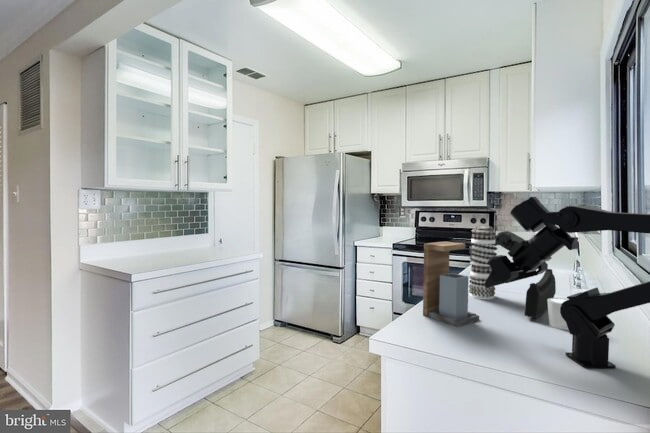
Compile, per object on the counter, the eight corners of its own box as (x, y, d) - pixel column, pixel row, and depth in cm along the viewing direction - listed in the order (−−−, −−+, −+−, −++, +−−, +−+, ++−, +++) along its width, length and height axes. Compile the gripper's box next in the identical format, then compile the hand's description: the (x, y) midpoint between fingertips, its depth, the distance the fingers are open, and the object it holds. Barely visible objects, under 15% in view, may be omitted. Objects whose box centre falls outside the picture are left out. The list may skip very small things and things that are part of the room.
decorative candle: (496, 301, 124) (498, 227, 122) (467, 297, 128) (468, 226, 126) (496, 294, 132) (498, 226, 131) (469, 291, 136) (470, 225, 135)
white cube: (562, 331, 95) (563, 305, 95) (540, 323, 102) (541, 298, 102) (582, 329, 97) (583, 303, 97) (559, 320, 104) (560, 296, 104)
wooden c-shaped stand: (479, 319, 104) (480, 245, 103) (457, 326, 99) (459, 248, 98) (444, 309, 114) (445, 241, 113) (422, 314, 109) (424, 243, 108)
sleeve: (467, 319, 105) (468, 276, 104) (455, 322, 102) (456, 278, 101) (451, 314, 110) (451, 273, 109) (439, 317, 106) (439, 275, 106)
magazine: (536, 292, 100) (555, 250, 121) (523, 290, 102) (544, 249, 124) (538, 345, 105) (556, 295, 126) (525, 342, 107) (545, 294, 128)
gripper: (536, 219, 95) (495, 256, 104) (496, 222, 84) (454, 262, 94) (569, 253, 89) (522, 289, 98) (530, 261, 78) (482, 299, 88)
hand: (495, 283), depth 95 cm, fingers open, 9 cm apart
